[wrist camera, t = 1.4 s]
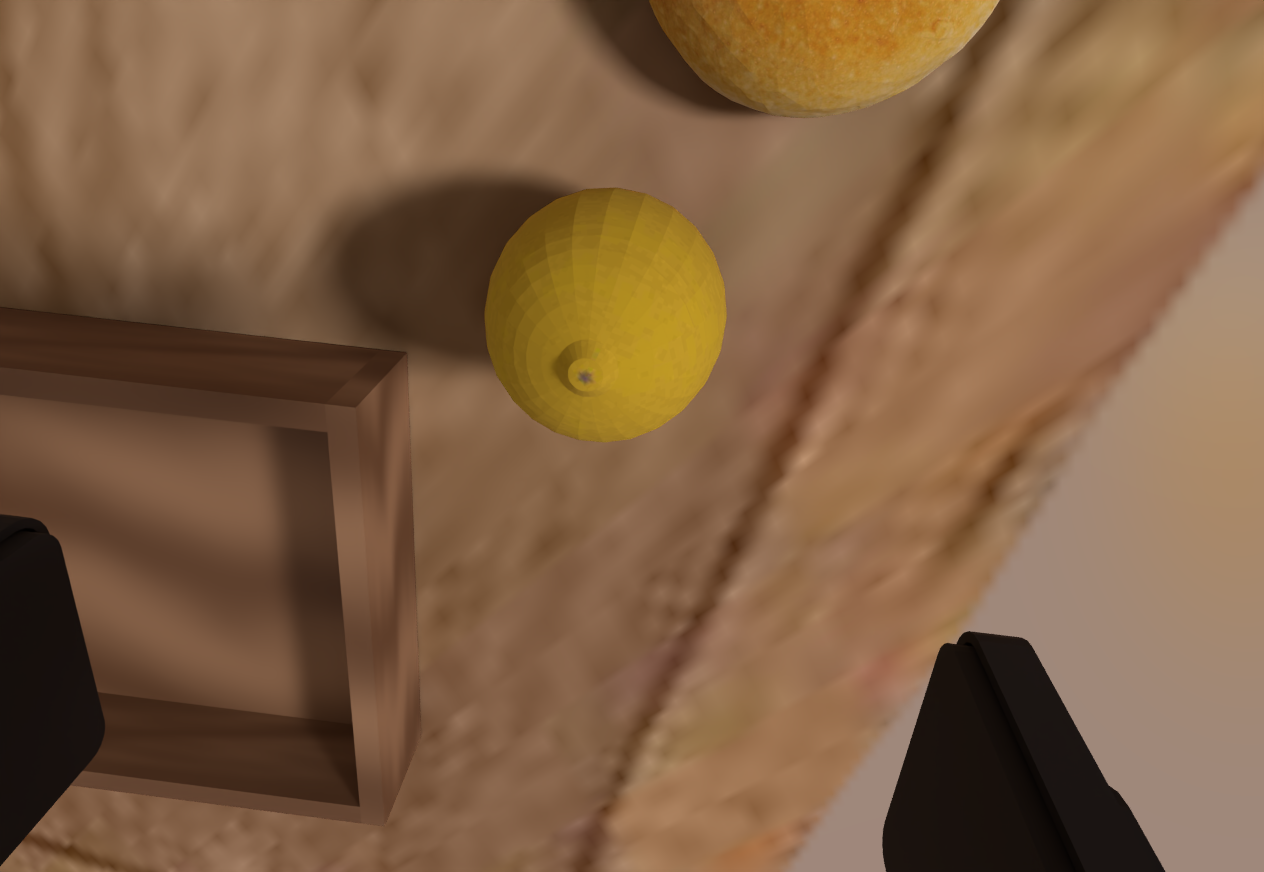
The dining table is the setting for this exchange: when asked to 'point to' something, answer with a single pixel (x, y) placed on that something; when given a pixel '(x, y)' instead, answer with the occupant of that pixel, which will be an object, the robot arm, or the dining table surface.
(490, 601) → the dining table surface
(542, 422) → the lemon
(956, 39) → the bread roll
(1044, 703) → the robot arm
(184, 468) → the bin
